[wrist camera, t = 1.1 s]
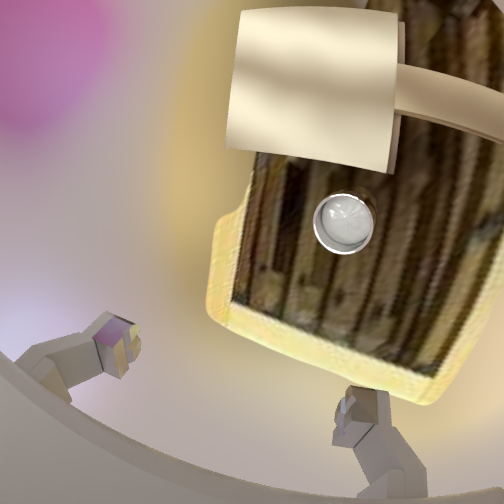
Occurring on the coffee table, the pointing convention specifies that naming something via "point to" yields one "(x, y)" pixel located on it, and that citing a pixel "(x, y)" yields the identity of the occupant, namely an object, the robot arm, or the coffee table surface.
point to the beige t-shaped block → (340, 87)
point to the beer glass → (346, 220)
